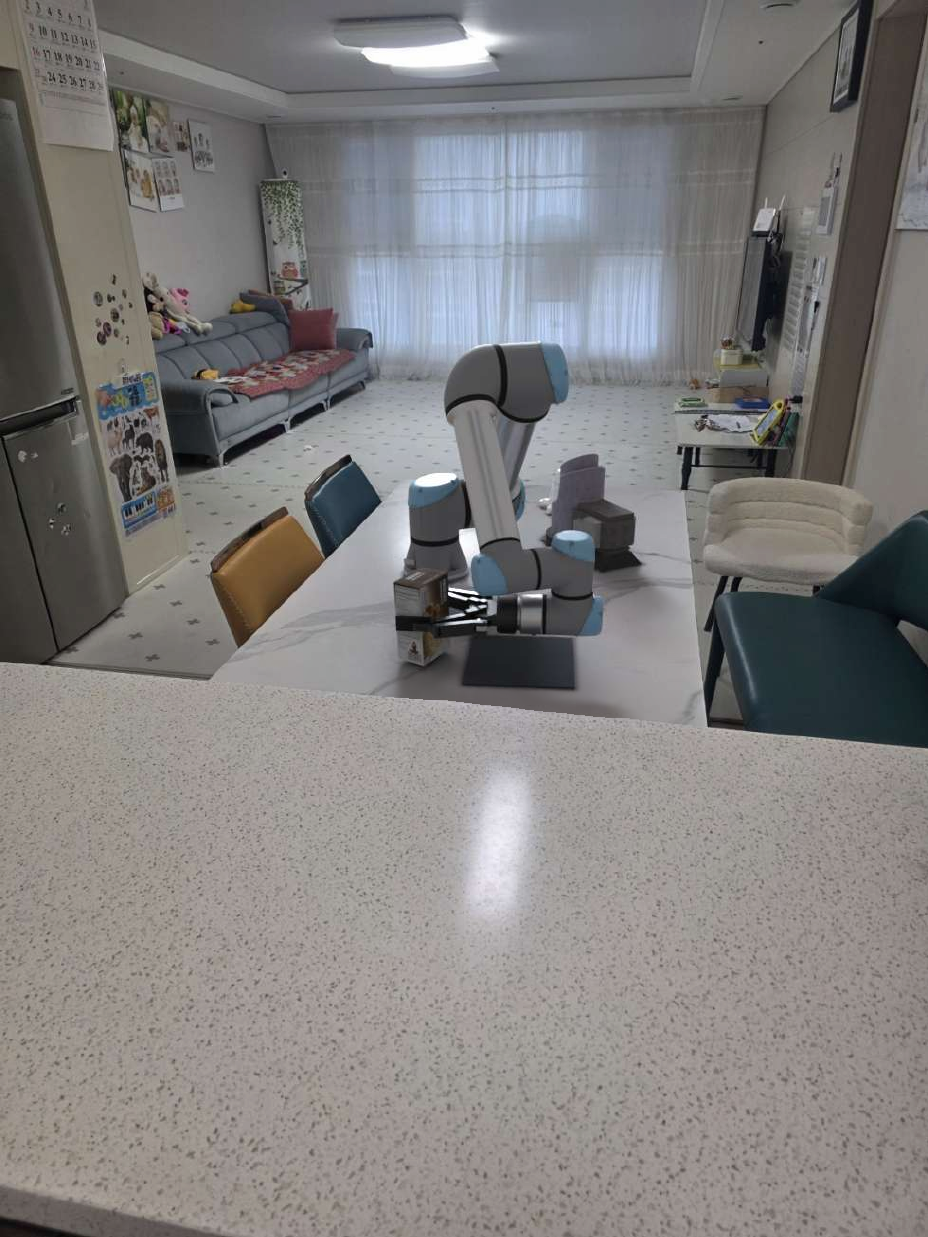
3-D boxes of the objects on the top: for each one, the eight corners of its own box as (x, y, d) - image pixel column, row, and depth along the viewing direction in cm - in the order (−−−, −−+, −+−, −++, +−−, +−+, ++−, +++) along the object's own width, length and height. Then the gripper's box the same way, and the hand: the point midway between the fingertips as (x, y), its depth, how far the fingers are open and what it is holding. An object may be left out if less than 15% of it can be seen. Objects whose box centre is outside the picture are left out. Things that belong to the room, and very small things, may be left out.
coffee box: (424, 640, 164) (421, 565, 157) (451, 648, 161) (449, 571, 154) (396, 659, 157) (392, 581, 150) (424, 667, 154) (420, 588, 147)
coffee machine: (531, 537, 221) (533, 446, 210) (582, 527, 227) (586, 439, 216) (594, 574, 196) (599, 473, 186) (649, 562, 202) (657, 464, 192)
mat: (472, 636, 167) (472, 634, 167) (571, 638, 165) (572, 637, 165) (462, 685, 149) (462, 683, 149) (573, 688, 147) (574, 687, 147)
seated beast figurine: (537, 505, 246) (538, 466, 241) (564, 503, 248) (566, 463, 243) (547, 514, 238) (549, 474, 233) (576, 512, 240) (577, 471, 234)
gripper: (515, 660, 144) (390, 656, 146) (521, 607, 165) (411, 604, 167) (515, 621, 141) (388, 618, 143) (521, 572, 162) (410, 569, 164)
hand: (401, 610), depth 155 cm, fingers closed on coffee box, 10 cm apart
